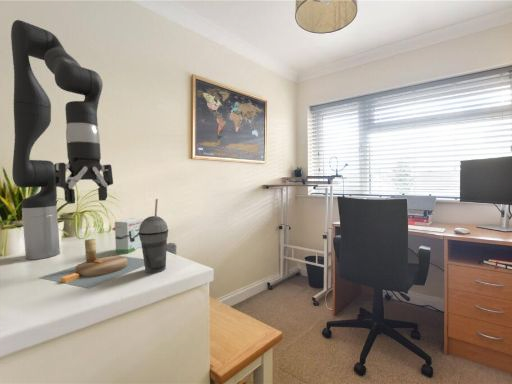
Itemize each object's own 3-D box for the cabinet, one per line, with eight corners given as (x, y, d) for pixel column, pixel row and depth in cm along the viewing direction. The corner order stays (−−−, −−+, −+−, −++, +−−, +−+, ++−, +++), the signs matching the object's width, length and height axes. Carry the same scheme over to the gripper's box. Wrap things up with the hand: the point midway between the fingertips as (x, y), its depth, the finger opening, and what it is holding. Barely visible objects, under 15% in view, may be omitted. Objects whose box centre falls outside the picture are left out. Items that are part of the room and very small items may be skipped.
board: (39, 283, 64) (38, 273, 64) (112, 259, 82) (112, 251, 82) (88, 295, 56) (88, 283, 56) (157, 265, 75) (157, 257, 74)
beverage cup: (146, 271, 70) (142, 198, 69) (173, 269, 71) (170, 197, 70) (136, 281, 63) (131, 200, 62) (166, 279, 64) (162, 199, 63)
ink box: (128, 258, 83) (126, 222, 83) (115, 257, 84) (113, 221, 84) (145, 250, 92) (143, 217, 91) (133, 250, 93) (131, 217, 92)
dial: (137, 263, 72) (135, 237, 72) (95, 279, 61) (93, 248, 61) (108, 259, 77) (106, 235, 77) (65, 273, 66) (62, 245, 66)
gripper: (99, 146, 77) (103, 199, 78) (45, 140, 64) (50, 204, 65) (116, 144, 74) (120, 199, 75) (63, 137, 61) (68, 204, 62)
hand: (87, 201), depth 70 cm, fingers open, 8 cm apart
